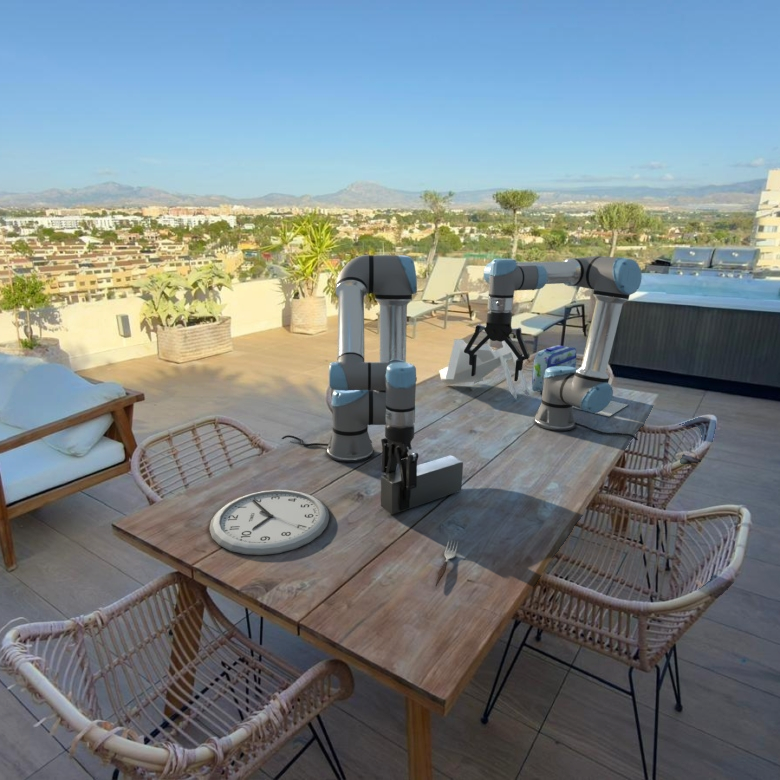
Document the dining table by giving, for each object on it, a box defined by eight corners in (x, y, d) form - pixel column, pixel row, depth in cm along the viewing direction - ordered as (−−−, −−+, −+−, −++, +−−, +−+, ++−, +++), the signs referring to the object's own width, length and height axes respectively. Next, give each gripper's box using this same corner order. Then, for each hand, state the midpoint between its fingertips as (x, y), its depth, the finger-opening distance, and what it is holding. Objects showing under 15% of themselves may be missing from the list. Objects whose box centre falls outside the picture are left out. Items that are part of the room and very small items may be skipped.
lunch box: (548, 398, 236) (553, 353, 229) (527, 393, 243) (531, 349, 237) (575, 387, 253) (581, 344, 247) (555, 382, 260) (560, 341, 254)
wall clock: (327, 546, 121) (194, 551, 119) (327, 552, 122) (195, 557, 119) (330, 485, 150) (223, 488, 147) (330, 490, 150) (224, 493, 148)
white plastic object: (461, 429, 252) (437, 405, 227) (444, 352, 274) (420, 323, 250) (535, 404, 240) (518, 377, 215) (510, 326, 262) (492, 293, 237)
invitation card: (608, 416, 214) (573, 407, 224) (608, 416, 214) (573, 408, 224) (628, 404, 229) (594, 396, 238) (628, 405, 229) (594, 397, 238)
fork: (429, 586, 111) (429, 578, 110) (447, 545, 125) (448, 538, 125) (441, 589, 110) (441, 581, 109) (458, 548, 124) (459, 541, 124)
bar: (449, 483, 154) (451, 455, 151) (461, 490, 150) (463, 461, 147) (380, 506, 141) (381, 475, 138) (391, 514, 137) (392, 483, 134)
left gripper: (368, 415, 139) (368, 493, 146) (409, 438, 125) (406, 523, 131) (391, 410, 143) (390, 486, 150) (433, 431, 129) (429, 515, 136)
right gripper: (456, 309, 161) (453, 375, 167) (540, 315, 152) (533, 385, 158) (462, 306, 168) (459, 370, 174) (543, 312, 159) (536, 379, 165)
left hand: (397, 503), depth 141 cm, fingers closed on bar, 5 cm apart
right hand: (494, 377), depth 166 cm, fingers open, 13 cm apart
